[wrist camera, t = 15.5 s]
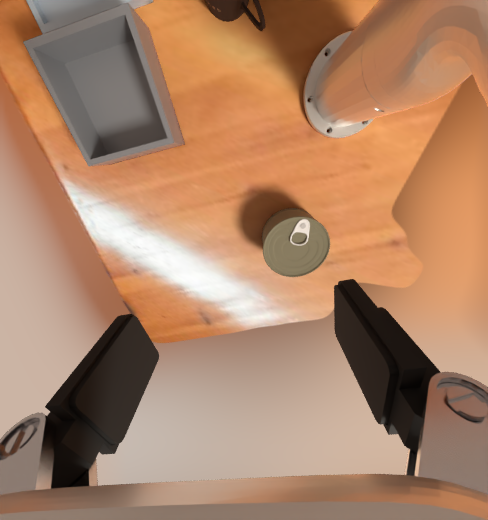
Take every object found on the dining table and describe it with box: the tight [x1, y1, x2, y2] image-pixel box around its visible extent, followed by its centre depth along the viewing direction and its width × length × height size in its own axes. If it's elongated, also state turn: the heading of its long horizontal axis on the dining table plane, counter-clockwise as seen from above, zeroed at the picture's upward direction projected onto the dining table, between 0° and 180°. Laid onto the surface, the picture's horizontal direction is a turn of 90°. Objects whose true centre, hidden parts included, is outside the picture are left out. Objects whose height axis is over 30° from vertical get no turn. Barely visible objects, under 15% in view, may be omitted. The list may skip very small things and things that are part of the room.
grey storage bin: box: [23, 3, 185, 166], centre depth 30 cm, size 15×15×6 cm
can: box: [262, 208, 330, 277], centre depth 40 cm, size 12×12×7 cm
